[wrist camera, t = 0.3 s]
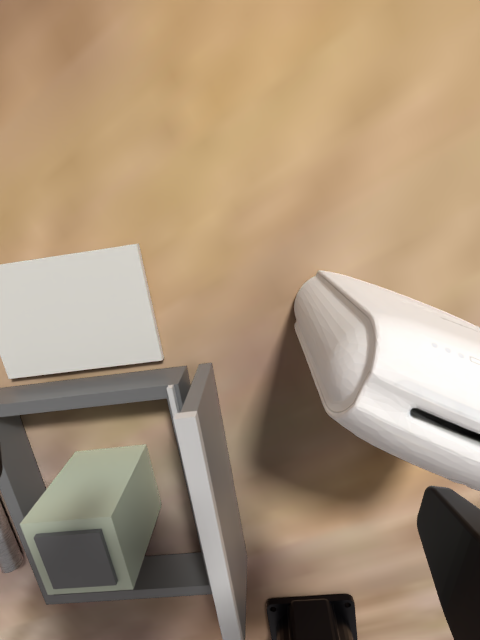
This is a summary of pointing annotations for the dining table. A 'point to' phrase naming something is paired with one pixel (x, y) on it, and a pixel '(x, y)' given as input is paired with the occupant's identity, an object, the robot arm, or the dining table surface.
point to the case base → (27, 485)
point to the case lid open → (214, 500)
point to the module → (94, 521)
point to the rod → (8, 546)
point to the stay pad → (76, 313)
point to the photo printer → (395, 372)
